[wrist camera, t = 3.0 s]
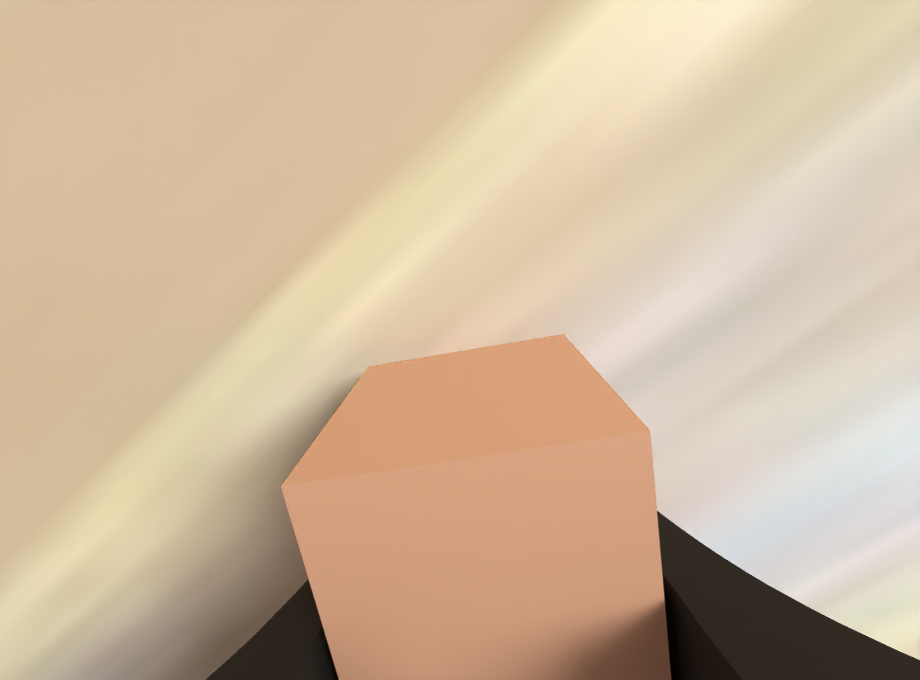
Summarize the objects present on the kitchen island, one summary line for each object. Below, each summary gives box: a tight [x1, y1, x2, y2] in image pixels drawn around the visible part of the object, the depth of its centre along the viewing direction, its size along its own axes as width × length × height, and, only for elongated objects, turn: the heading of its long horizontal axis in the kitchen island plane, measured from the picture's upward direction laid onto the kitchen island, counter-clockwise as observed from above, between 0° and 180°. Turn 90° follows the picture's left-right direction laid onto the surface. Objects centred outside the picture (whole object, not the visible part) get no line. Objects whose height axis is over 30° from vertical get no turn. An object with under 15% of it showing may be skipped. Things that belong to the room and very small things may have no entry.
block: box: [281, 334, 671, 680], centre depth 9 cm, size 4×8×5 cm, turn 10°
